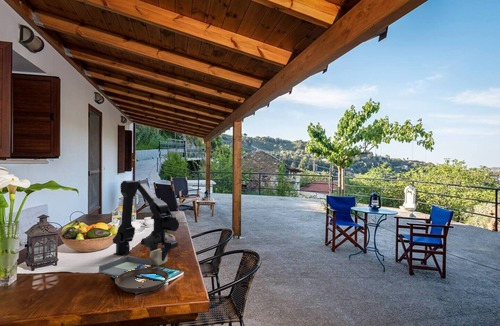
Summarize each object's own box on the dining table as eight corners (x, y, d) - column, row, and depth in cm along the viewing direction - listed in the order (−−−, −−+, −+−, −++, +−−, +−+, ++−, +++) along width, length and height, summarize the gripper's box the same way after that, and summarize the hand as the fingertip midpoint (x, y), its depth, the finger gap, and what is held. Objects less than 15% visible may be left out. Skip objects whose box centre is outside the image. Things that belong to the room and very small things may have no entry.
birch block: (149, 264, 149) (150, 251, 149) (159, 260, 156) (159, 248, 156) (157, 265, 147) (158, 252, 147) (167, 261, 154) (167, 249, 154)
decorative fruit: (155, 250, 173) (155, 232, 173) (164, 246, 181) (164, 229, 181) (168, 252, 170) (169, 234, 170) (177, 248, 177) (178, 231, 177)
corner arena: (98, 272, 136) (99, 265, 137) (128, 261, 152) (128, 255, 152) (124, 278, 131) (124, 271, 131) (151, 266, 146) (151, 260, 146)
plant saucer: (167, 293, 117) (167, 285, 117) (109, 297, 112) (109, 288, 112) (170, 274, 137) (170, 267, 137) (121, 276, 133) (121, 269, 133)
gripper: (132, 229, 148) (132, 262, 148) (164, 234, 140) (163, 268, 140) (149, 225, 158) (148, 255, 158) (178, 229, 151) (178, 261, 151)
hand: (158, 260), depth 151 cm, fingers closed on birch block, 5 cm apart
